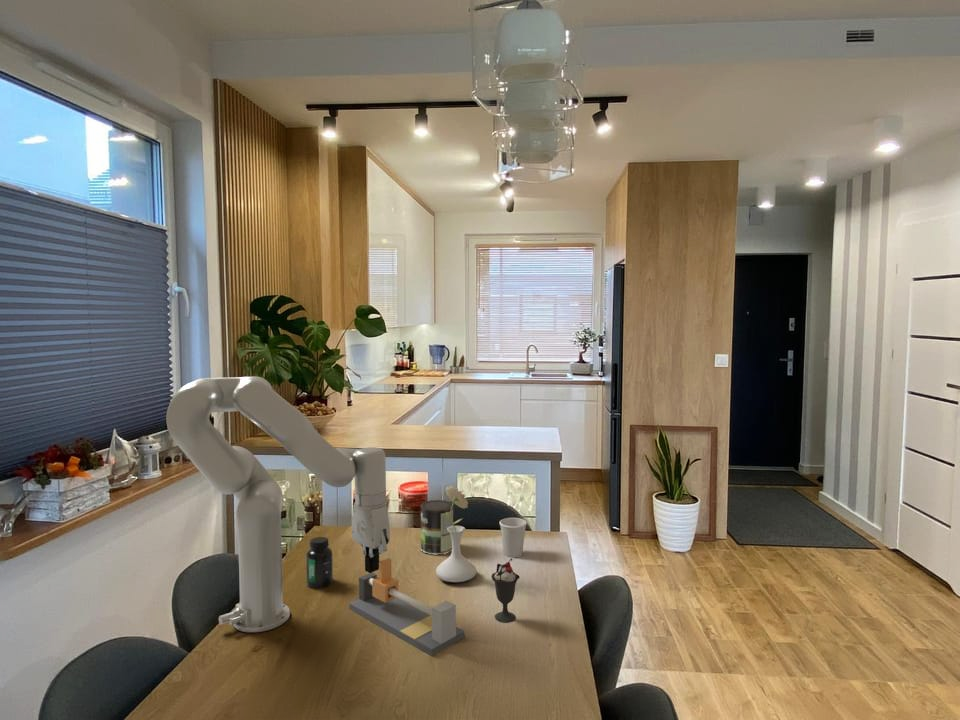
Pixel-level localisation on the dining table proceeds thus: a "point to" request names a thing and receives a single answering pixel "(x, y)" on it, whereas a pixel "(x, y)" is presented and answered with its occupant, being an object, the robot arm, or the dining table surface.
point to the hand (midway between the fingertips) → (372, 570)
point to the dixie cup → (513, 536)
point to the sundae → (505, 589)
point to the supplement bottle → (319, 563)
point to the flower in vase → (456, 546)
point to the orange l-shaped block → (384, 582)
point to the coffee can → (436, 527)
